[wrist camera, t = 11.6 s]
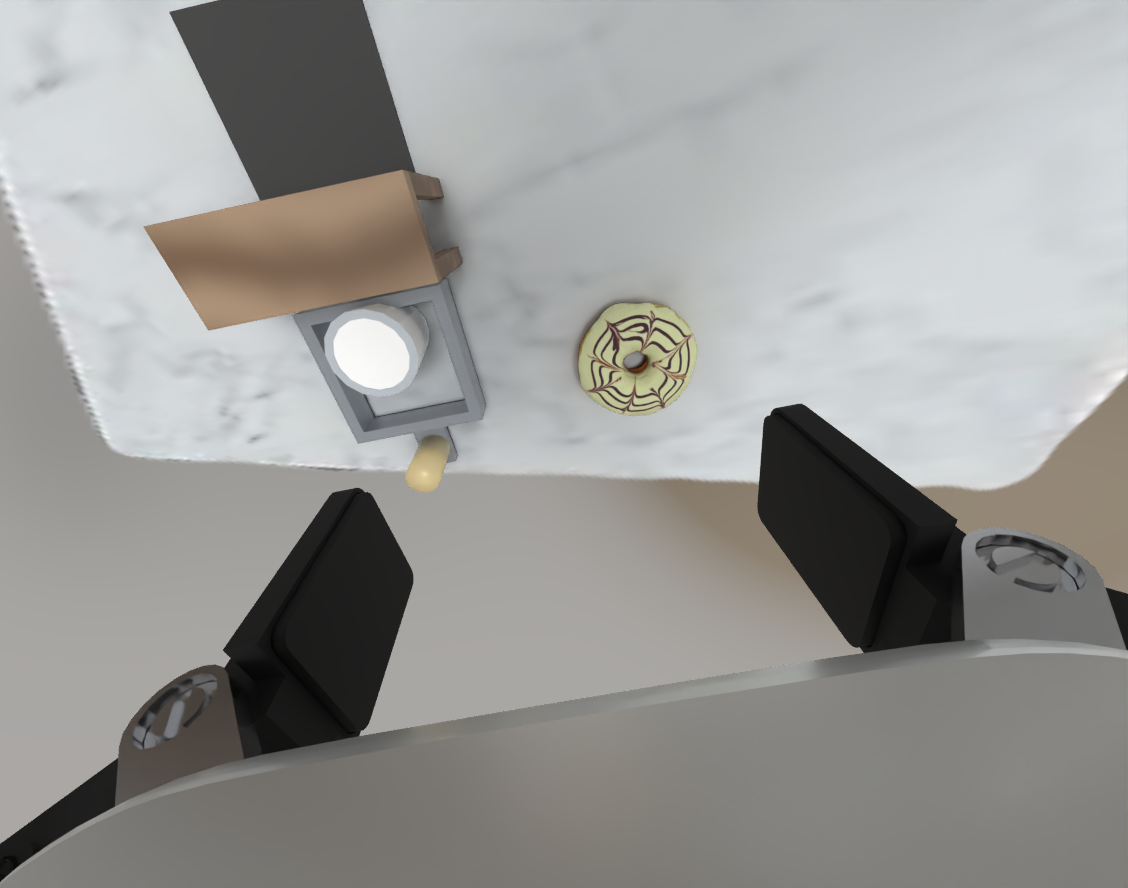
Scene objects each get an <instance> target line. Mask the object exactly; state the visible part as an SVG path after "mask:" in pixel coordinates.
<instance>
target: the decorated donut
mask: <svg viewBox="0 0 1128 888" xmlns="http://www.w3.org/2000/svg"><path fill="white" fill-rule="evenodd" d="M636 351H639V352H640V353H642V354H646V355H647V361H646V362H645V363H644V364H643V365H642V367H638V368H637V369H627V368H626V367H625V365H624V359H625V357H626V356H627V355H629V354H632V353H634V352H636ZM578 357H579V360H578V362H579V363H578V369H579V375H580V381H581V386H582V388H583V389H584V390H585V391H586V392H587V393H588V394H589V396H590V397H591V398H592V399H593V400H594V401H595V402H597V403H598V404H600V405H602V406H603V407H605V408H607V409H608V410H610V411H613V412H615V413H619V414H624V415H632V416H639V415H649V414H652V413H655V412H657V411H658V410H660V409H663V408H665V407H667V406H668V405H670V404H671V403H672V402H674V401H676V400H677V399H678V397H680V395H681V394H682V393H683V391H684V390H685V388H686V387H687V385H688V383H689V380H690V378H691V375H692V372H693V369H694V366H695V363H696V360H697V344H696V341H695V338H694V336H693V333H692V331H691V330H690V327H689V326H688V324H687V323H686V322H685V321H684V320H682V319H681V318H680V317H679V316H678V315H677V314H676V313H675V312H674V311H673V310H671V309H670V308H668V307H666V306H663V305H655V304H651V303H649V302H648V303H637V304H628V303H620V304H614V305H612V306H610V307H609V308H607V309H606V310H605V311H604V312H603V313H602V314H601V316H600V318H599V319H598V320H597V321H596V322H595V323H594V324H593V325H592V327H591V328H590V329H589V330H588V332H587V333H586V335H585V337H584V339H583V341H582V342H581V345H580V351H579V356H578Z"/></svg>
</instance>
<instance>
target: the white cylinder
mask: <svg viewBox="0 0 1128 888" xmlns="http://www.w3.org/2000/svg"><path fill="white" fill-rule="evenodd" d="M429 333H430V331H429V328H428V325H427V322H426V319H425V318H424V317H423V316H422V314H421V313H420V312H419V311H418V309H417V308H415V307H413V306H412V305H407V306H403V307H398V308H396V307H393V306H388V305H384V304H379V303H378V304H372V305H367V306H362V307H359V308H356V309H353V310H350V311H347V312H344V313H343V314H341V315H340V316H339V317H337V318H336V319H335V320H334V321H332V322H331V323H330V326H329V328H328V330H327V332H326V335H325V337H324V344H325V356H326V358H327V360H328V362H329V364H330V366H331V368H332V370H333V372H334V373H335V374H336V375H337V376H338V377H339V378H340V379H341V380H342V381H343V382H344V383H345V384H346V385H347V386H349V387H351V388H353V389H354V390H356V391H358V392H360V393H362V394H365V395H371V396H377V397H384V396H390V395H395V394H398V393H400V392H401V391H403V390H404V389H406V388H407V387H409V386H410V385H411V383H412V381H413V379H414V377H415V376H416V374H417V372H418V370H419V367H420V364H421V362H422V359H423V357H424V354H425V352H426V349H427V347H428V344H429Z"/></svg>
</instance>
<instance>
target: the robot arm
mask: <svg viewBox="0 0 1128 888" xmlns="http://www.w3.org/2000/svg"><path fill="white" fill-rule="evenodd" d="M758 493H759V494H758V513H759V517H760V519H761V521H762V523H763V524H764V525H765V527H766V528H767V530H768V531H769V532H770V534H771V535H772V537H773V538H774V539H775V541H776V542H777V544H778V545H779V546H780V548H781V549H782V551H783V552H784V553H785V555H786V556H787V558H788V559H789V560H790V562H791V563H792V564H793V566H794V567H795V569H796V570H797V572H798V573H799V574H800V576H801V577H802V578H803V580H804V581H805V583H806V584H807V586H808V587H809V588H810V590H811V591H812V593H813V594H814V595H815V597H816V598H817V600H818V601H819V602H820V604H821V605H822V607H823V608H824V610H825V611H826V612H827V614H828V615H829V616H830V618H831V619H832V621H833V622H834V623H835V625H836V626H837V627H838V629H839V631H840V632H841V633H842V635H843V636H844V637H845V639H846V640H847V641H848V642H849V644H851V645H852V646H853V647H856V648H857V647H860V648H861V649H862V651H863V652H864V653H862V654H855V655H848V656H841V657H834V658H827V659H820V660H814V661H808V662H801V663H796V664H789V665H783V666H777V667H770V668H765V669H759V670H752V671H746V672H740V673H733V674H727V675H721V676H715V677H708V678H703V679H696V680H690V681H684V682H677V683H672V684H665V685H659V686H653V687H647V688H641V689H635V690H630V691H623V692H617V693H611V694H605V695H599V696H593V697H587V698H581V699H575V700H569V701H564V702H557V703H551V704H546V705H539V706H533V707H528V708H522V709H516V710H509V711H503V712H498V713H492V714H486V715H480V716H474V717H468V718H463V719H457V720H451V721H446V722H440V723H434V724H428V725H422V726H416V727H411V728H405V729H399V730H393V731H387V732H382V733H376V734H370V735H364V736H359V735H360V732H361V730H364V729H365V728H366V727H367V725H368V724H369V721H370V719H371V716H372V712H373V709H374V706H375V703H376V700H377V697H378V693H379V690H380V687H381V684H382V681H383V678H384V674H385V671H386V668H387V665H388V662H389V659H390V655H391V652H392V649H393V646H394V643H395V640H396V636H397V633H398V630H399V627H400V624H401V620H402V617H403V614H404V611H405V608H406V605H407V601H408V598H409V595H410V592H411V589H412V586H413V572H412V570H411V567H410V565H409V563H408V562H407V560H406V558H405V556H404V554H403V552H402V550H401V548H400V547H399V545H398V543H397V541H396V539H395V537H394V535H393V533H392V532H391V530H390V528H389V526H388V524H387V522H386V520H385V518H384V517H383V515H382V513H381V511H380V509H379V508H378V505H377V503H376V501H375V500H374V498H373V496H372V495H371V494H370V493H368V492H366V493H365V492H364V491H363V490H362V489H360V488H354V489H349V490H344V491H338V492H334V493H332V494H331V495H330V496H329V498H328V500H327V501H326V502H325V504H324V505H323V506H322V508H321V509H320V511H319V512H318V514H317V515H316V516H315V518H314V519H313V521H312V522H311V524H310V525H309V527H308V528H307V529H306V531H305V532H304V534H303V535H302V537H301V538H300V540H299V541H298V543H297V544H296V545H295V547H294V548H293V550H292V551H291V553H290V554H289V555H288V557H287V558H286V560H285V561H284V563H283V564H282V566H281V567H280V568H279V570H278V571H277V573H276V574H275V576H274V577H273V579H272V580H271V581H270V583H269V584H268V586H267V587H266V589H265V590H264V592H263V593H262V594H261V596H260V597H259V599H258V600H257V602H256V603H255V605H254V606H253V608H252V609H251V610H250V612H249V613H248V615H247V616H246V617H245V619H244V620H243V622H242V623H241V625H240V626H239V628H238V629H237V630H236V632H235V633H234V635H233V636H232V638H231V639H230V641H229V642H228V644H227V645H226V647H225V648H224V649H223V651H224V652H225V653H226V654H227V655H228V656H229V657H230V658H231V659H230V660H229V662H228V663H227V665H226V666H225V668H224V667H221V666H218V665H207V666H202V667H199V668H196V669H193V670H190V671H189V672H187V673H185V674H183V675H181V676H179V677H178V678H176V679H174V680H173V681H171V682H170V683H169V684H167V685H166V686H164V687H163V688H162V689H160V690H159V691H158V692H157V693H156V694H155V695H153V696H152V697H151V698H150V699H149V700H148V701H147V702H146V703H145V704H144V705H143V706H142V707H141V708H140V709H139V711H138V712H137V713H136V714H135V715H134V717H133V718H132V719H131V721H130V723H129V724H128V726H127V727H126V729H125V731H124V732H123V734H122V738H121V742H120V745H119V754H118V758H117V759H116V760H115V761H113V762H112V763H111V764H109V765H108V766H106V767H105V768H104V769H102V770H101V771H100V772H98V773H97V774H96V775H94V776H93V777H92V778H90V779H89V780H87V781H86V782H85V783H83V784H82V785H80V786H79V787H78V788H76V789H75V790H74V791H72V792H71V793H69V794H68V795H67V796H65V797H64V798H63V799H61V800H60V801H58V802H57V803H56V804H54V805H53V806H52V807H50V808H49V809H47V810H46V811H45V812H43V813H42V814H41V815H39V816H38V817H37V818H35V819H34V820H33V821H31V822H30V823H28V824H27V825H26V826H24V827H23V828H21V829H20V830H19V831H17V832H16V833H15V834H13V835H12V836H11V837H9V838H8V839H7V840H5V841H4V842H2V843H1V844H0V888H1128V594H1127V593H1123V592H1119V591H1115V590H1112V589H1109V588H1105V585H1104V582H1103V579H1102V578H1101V576H1100V575H1099V573H1098V572H1097V570H1096V569H1095V567H1094V566H1093V565H1092V564H1090V563H1089V562H1088V561H1087V560H1086V559H1084V558H1083V557H1082V556H1081V555H1079V554H1078V553H1076V552H1074V551H1073V550H1071V549H1069V548H1067V547H1066V546H1064V545H1062V544H1060V543H1057V542H1055V541H1052V540H1050V539H1048V538H1045V537H1043V536H1039V535H1036V534H1032V533H1029V532H1025V531H1021V530H1014V529H1007V528H983V529H980V530H976V531H972V532H971V533H969V534H968V535H966V534H965V533H964V532H962V531H961V530H960V529H958V528H957V527H956V526H955V525H956V522H957V519H955V518H954V517H953V516H951V515H950V514H949V513H947V512H946V511H945V510H943V509H942V508H941V507H939V506H938V505H937V504H935V503H934V502H933V501H931V500H930V499H929V498H927V497H926V496H925V495H923V494H922V493H921V492H920V491H918V490H917V489H916V488H914V487H913V486H912V485H910V484H909V483H908V482H906V481H905V480H904V479H902V478H901V477H900V476H898V475H897V474H896V473H894V472H893V471H892V470H890V469H889V468H888V467H886V466H885V465H884V464H882V463H881V462H880V461H878V460H877V459H876V458H874V457H873V456H872V455H870V454H869V453H868V452H866V451H865V450H864V449H862V448H861V447H860V446H858V445H857V444H856V443H854V442H853V441H852V440H850V439H849V438H848V437H846V436H845V435H844V434H842V433H841V432H840V431H838V430H837V429H836V428H834V427H833V426H832V425H830V424H829V423H828V422H826V421H825V420H824V419H822V418H821V417H820V416H818V415H817V414H816V413H814V412H813V411H812V410H810V409H809V408H808V407H806V406H805V405H803V404H795V405H790V406H785V407H780V408H775V409H773V410H772V412H771V415H770V416H767V417H765V419H764V425H763V438H762V452H761V465H760V479H759V492H758Z"/></svg>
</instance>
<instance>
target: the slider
mask: <svg viewBox="0 0 1128 888" xmlns="http://www.w3.org/2000/svg"><path fill="white" fill-rule="evenodd" d="M427 301H432V303H433V306H434V309H435V312H436V315H437V318H438V321H439V324H440V327H441V330H442V333H443V336H444V339H445V342H446V345H447V348H448V351H449V354H450V357H451V360H452V363H453V366H454V369H455V372H456V375H457V377H458V380H459V383H460V386H461V389H462V392H463V395H464V398H465V400H463V401H458V402H453V403H448V404H443V405H437V406H432V407H427V408H422V409H417V410H412V411H407V412H402V413H397V414H392V415H387V416H382V417H377V418H374V416H373V414H372V412H371V409H370V407H369V405H368V403H367V401H366V399H365V397H364V395H363V394H362V393H360V392H358V391H356V390H354V389H353V388H351V387H349V386H347V385H346V384H345V383H344V382H343V381H342V380H341V379H340V378H339V377H338V376H337V375H336V374H335V373H334V372H333V370H332V368H331V366H330V364H329V362H328V360H327V358H326V356H325V344H324V337H325V335H326V332H327V330H328V328H329V326H330V321H334V320H335V319H336V318H337V317H339V316H340V315H341V314H343V313H344V312H347V311H350V310H353V309H356V308H359V307H362V306H367V305H372V304H378V303H379V304H384V305H388V306H393V307H396V308H398V307H403V306H407V305H412V304H417V303H422V302H427ZM292 316H293V318H294V320H295V322H296V324H297V326H298V328H299V329H300V331H301V333H302V335H303V337H304V339H305V341H306V343H307V345H308V347H309V349H310V351H311V353H312V355H313V357H314V359H315V361H316V363H317V365H318V367H319V369H320V370H321V372H322V374H323V376H324V378H325V380H326V382H327V384H328V386H329V388H330V390H331V392H332V394H333V396H334V398H335V400H336V402H337V404H338V406H339V408H340V410H341V411H342V413H343V415H344V417H345V419H346V421H347V423H348V425H349V427H350V429H351V431H352V433H353V435H354V437H355V439H356V441H357V443H358V444H359V443H364V442H369V441H374V440H379V439H384V438H390V437H395V436H400V435H405V434H410V433H414V435H415V438H416V440H417V442H418V445H419V447H418V449H417V451H416V453H415V455H414V457H413V459H412V462H411V464H410V466H409V468H408V470H407V472H406V475H405V479H406V482H407V484H408V485H409V486H410V487H411V488H412V489H414V490H416V491H419V492H431V491H433V490H435V489H436V488H437V487H438V485H439V483H440V480H441V477H442V474H443V471H444V468H445V465H446V463H449V462H454V461H456V459H457V454H456V451H455V448H454V446H453V443H452V440H451V438H450V435H449V432H448V430H447V427H446V426H451V425H456V424H461V423H466V422H472V421H477V420H482V419H483V416H484V412H485V408H486V404H485V401H484V398H483V394H482V391H481V388H480V385H479V382H478V378H477V375H476V372H475V369H474V365H473V362H472V359H471V356H470V353H469V349H468V346H467V343H466V340H465V336H464V333H463V330H462V327H461V323H460V320H459V317H458V314H457V311H456V307H455V304H454V301H453V298H452V294H451V291H450V288H449V285H448V282H447V279H443V280H441V281H440V282H439V283H434V284H429V285H424V286H420V287H415V288H410V289H405V290H400V291H396V292H391V293H386V294H381V295H376V296H372V297H367V298H362V299H357V300H352V301H348V302H343V303H338V304H333V305H328V306H324V307H319V308H314V309H309V310H304V311H301V312H299V313H297V314H294V315H292Z"/></svg>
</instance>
